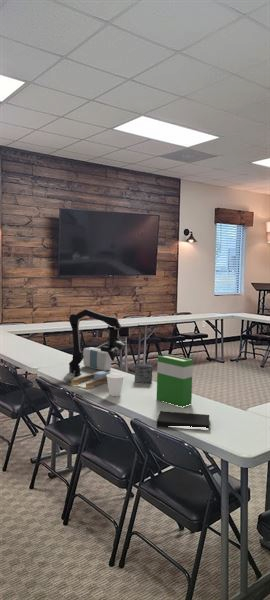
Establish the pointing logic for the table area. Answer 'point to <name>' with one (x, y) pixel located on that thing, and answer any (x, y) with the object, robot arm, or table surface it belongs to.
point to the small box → (143, 373)
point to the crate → (100, 375)
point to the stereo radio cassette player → (96, 359)
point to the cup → (115, 383)
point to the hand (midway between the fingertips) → (112, 360)
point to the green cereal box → (174, 380)
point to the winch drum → (69, 377)
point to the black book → (182, 419)
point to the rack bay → (89, 384)
